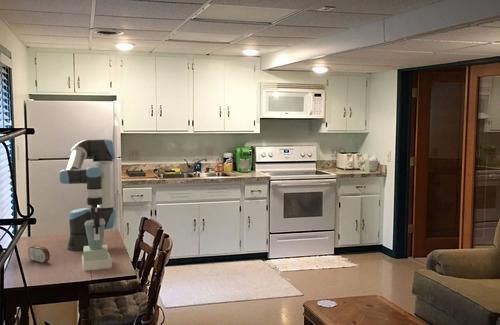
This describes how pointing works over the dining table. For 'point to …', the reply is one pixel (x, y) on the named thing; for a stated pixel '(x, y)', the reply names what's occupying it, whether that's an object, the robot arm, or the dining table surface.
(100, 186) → the robot arm
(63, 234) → the dining table surface
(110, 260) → the base block
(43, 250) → the tin
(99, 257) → the top block
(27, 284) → the dining table surface
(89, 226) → the disposable coffee cup
